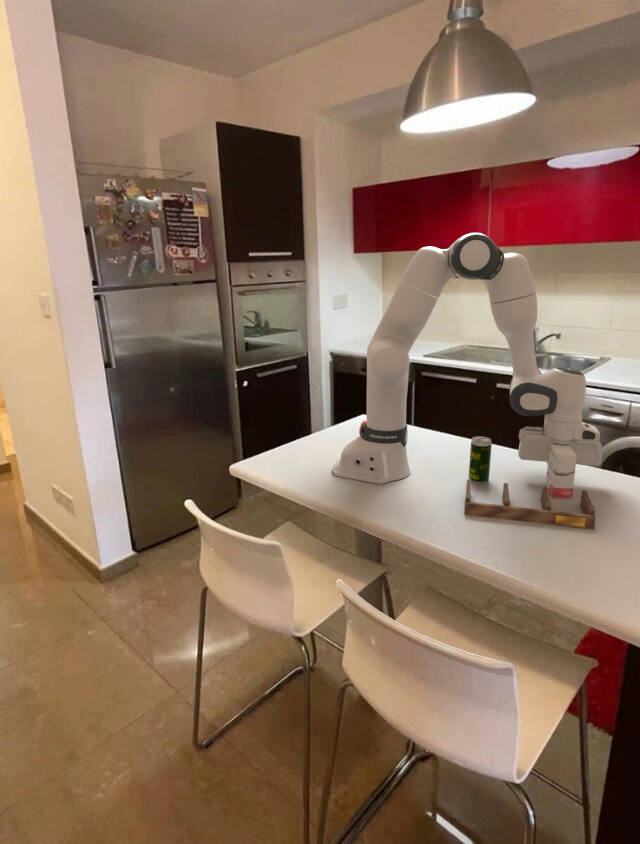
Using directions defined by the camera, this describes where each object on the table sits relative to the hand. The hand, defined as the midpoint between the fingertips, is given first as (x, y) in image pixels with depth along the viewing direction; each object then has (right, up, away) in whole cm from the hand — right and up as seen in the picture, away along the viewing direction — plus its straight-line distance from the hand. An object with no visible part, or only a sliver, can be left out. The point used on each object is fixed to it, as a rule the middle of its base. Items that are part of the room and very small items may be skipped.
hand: (555, 476), depth 138 cm
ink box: (-2, -3, -5) cm, 6 cm away
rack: (-14, -6, -14) cm, 21 cm away
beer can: (-20, -1, +3) cm, 20 cm away
